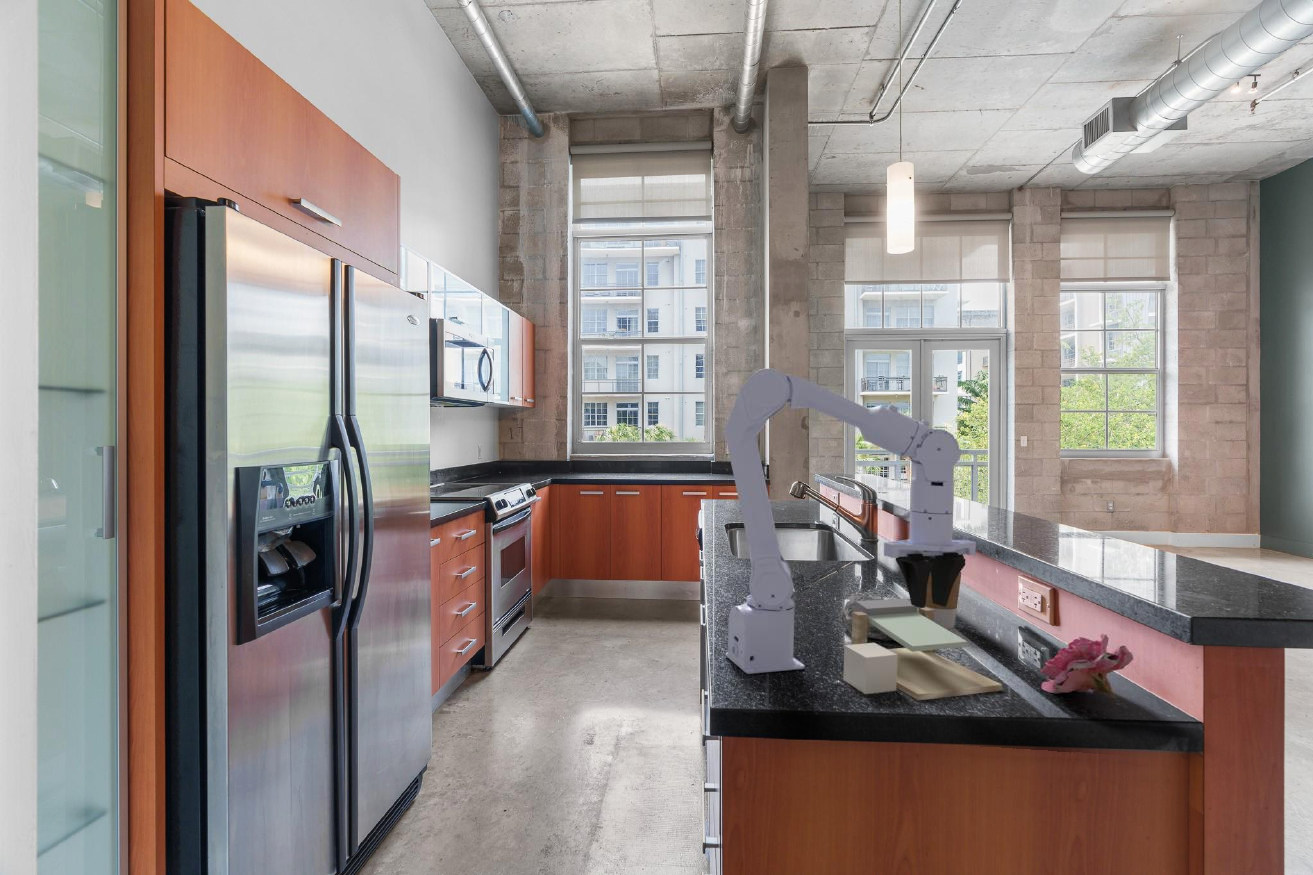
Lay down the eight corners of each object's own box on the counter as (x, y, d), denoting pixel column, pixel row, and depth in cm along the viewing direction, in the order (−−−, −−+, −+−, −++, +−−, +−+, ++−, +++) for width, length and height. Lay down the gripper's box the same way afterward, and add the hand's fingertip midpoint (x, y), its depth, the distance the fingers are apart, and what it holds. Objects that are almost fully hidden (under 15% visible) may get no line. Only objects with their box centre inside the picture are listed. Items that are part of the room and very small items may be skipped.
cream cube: (865, 694, 83) (866, 657, 83) (843, 680, 88) (844, 645, 88) (896, 691, 85) (897, 654, 85) (873, 677, 90) (874, 642, 90)
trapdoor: (911, 659, 86) (913, 638, 86) (853, 619, 99) (855, 601, 99) (965, 654, 89) (968, 634, 89) (902, 615, 102) (904, 598, 102)
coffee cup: (968, 632, 112) (971, 549, 112) (919, 629, 113) (921, 547, 113) (954, 619, 120) (956, 542, 120) (908, 616, 121) (910, 539, 121)
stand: (918, 700, 82) (919, 643, 82) (846, 658, 97) (847, 610, 97) (1001, 690, 86) (1003, 636, 86) (920, 651, 101) (921, 605, 101)
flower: (1031, 713, 86) (1017, 641, 92) (1106, 723, 86) (1087, 650, 91) (1076, 693, 77) (1058, 615, 83) (1161, 705, 76) (1136, 625, 82)
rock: (839, 640, 106) (934, 655, 102) (841, 603, 106) (937, 616, 101) (841, 618, 118) (927, 630, 114) (843, 585, 118) (929, 595, 113)
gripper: (908, 515, 84) (905, 616, 84) (993, 514, 88) (990, 610, 88) (875, 509, 91) (872, 602, 91) (955, 508, 95) (953, 597, 95)
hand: (928, 605), depth 90 cm, fingers open, 3 cm apart
